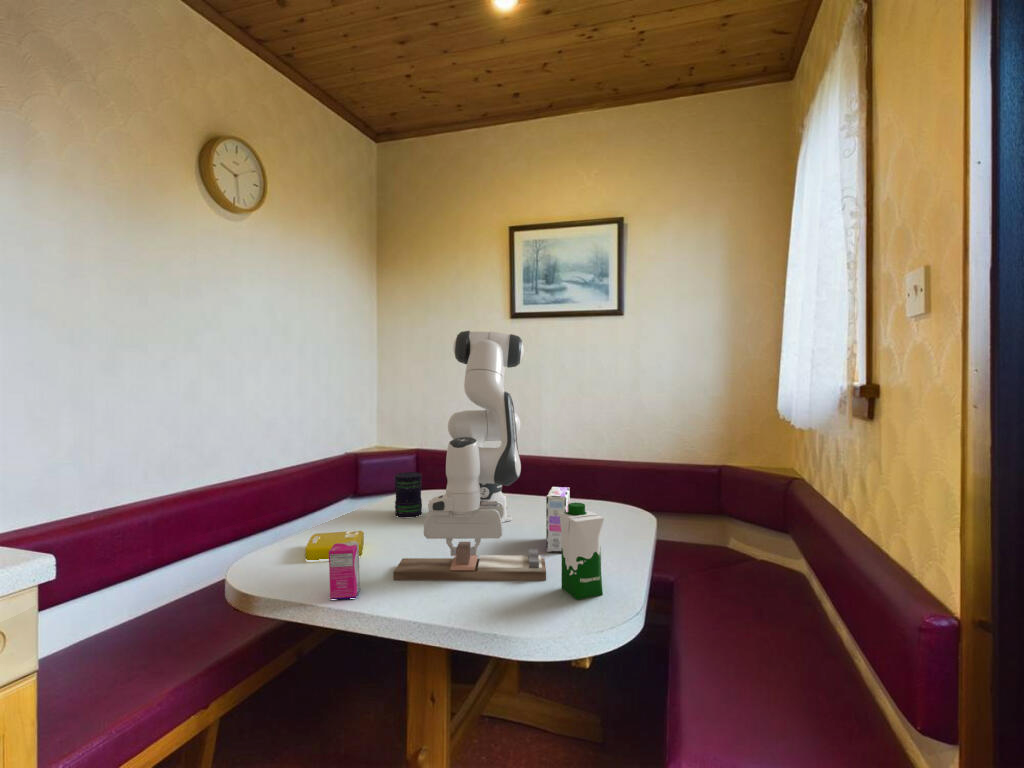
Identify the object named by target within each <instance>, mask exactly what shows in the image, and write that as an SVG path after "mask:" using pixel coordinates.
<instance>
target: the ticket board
mask: <svg viewBox="0 0 1024 768" xmlns="http://www.w3.org/2000/svg"><path fill="white" fill-rule="evenodd" d="M453 559H454V557H452V558H451V557H450V558H448V557H447V558H444V557H443V558H438V557H436V558H434V557H433V558H425V557H424V558H423V557H422V558H421V557H420V558H419V557H418V558H416V557H415V558H413V557H412V558H410V557H408V558H407V557H405V558H402V559H401V560H400V561H399V563H398V564H397V566H396V567H395V569H394V571H393V577H392V578H393V581H547V569H546V567H547V566H546V560H545V559H546V558H544V557H543V558H542V556H541V554H539V549H538V548H528V555H527V554H526V555H523V554H522V555H521V554H520V555H515V554H513V555H511V554H510V555H509V554H508V555H506V554H503V555H502V554H501V555H500V554H495V555H493V554H492V555H490V554H488V555H485V554H484V555H483V554H481V555H480V557H478V559H477V563H476V567H475V570H451V564H452V562H453Z"/></svg>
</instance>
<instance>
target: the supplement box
mask: <svg viewBox="0 0 1024 768" xmlns="http://www.w3.org/2000/svg"><path fill="white" fill-rule="evenodd" d="M328 564H329V565H328V567H329V570H328V571H329V599H350V598H356V599H357V597H356V596H358V595H359V593H360V591H361V577H360V576H361V574H360V570H361V569H360V558H359V543H358V542H352V543H335V544H334V545H333V547H332V548H331V549H330V551H329V561H328ZM359 590H360V591H359ZM358 592H359V593H358ZM357 594H358V595H357Z"/></svg>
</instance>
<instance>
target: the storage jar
mask: <svg viewBox="0 0 1024 768" xmlns="http://www.w3.org/2000/svg"><path fill="white" fill-rule="evenodd" d="M422 482H423V478H422V473H421V472H417V471H409V472H408V471H406V472H399V473H395V474H394V489H395V501H394V509H395V510H394V512H395V515H396V516H398V517H414V518H417V517H416V516H418V517H420V516H419V515H421V514H422V515H423V512H422V510H423V502H422V501H423V500H422V487H423V486H422V484H423V483H422ZM422 515H421V516H422ZM396 516H395V517H396ZM398 517H397V518H398Z"/></svg>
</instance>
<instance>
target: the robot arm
mask: <svg viewBox="0 0 1024 768" xmlns="http://www.w3.org/2000/svg"><path fill="white" fill-rule="evenodd" d="M452 350H453V353H454V357H455V359H456V360H457V362H459V363H461V364H463V365H466V367H465V372H464V374H465V375H464V382H463V385H464V386H463V387H464V393H465V395H466V396H467V398H468V399H469V401H470V402H472V403H473V404H475V405H476V406H478V407H479V408H482V409H481V410H479V409H478V410H477V409H476V410H475V409H474V410H462V411H458V412H454V413H453V414H452V415H451V416H450V417H449V420H448V423H447V429H448V430H447V431H448V433H449V436H450V437H451V440H450V441H449V442H448V444H447V451H446V458H445V477H446V479H447V482H446V483H447V484H446V489H445V493H444V494H441V495H438V496H435V497H433V498H431V499H430V500H429V501H428V507H427V508H428V512H427V513H426V515H425V517H424V525H423V536H424V538H426V539H431V540H432V539H436V540H437V539H443V540H444V539H445V543H446V545H447V547H448V548H449V549H450V556H453V557H455V555H456V549H457V546H454V544H453V542H452V541H453V540H455V539H457V540H458V539H461V540H462V539H463V540H464V539H465V540H466V539H467V540H468V539H469V540H471V539H472V540H473V539H474V543H475V544H474V546H471V549H470V552H471V553H470V555H471V556H476V555H478V554H477V553H478V552H477V551H478V547H479V546H480V544H481V541H482V539H483V540H484V539H488V540H489V539H496V540H497V539H500V538H501V537H503V531H504V530H503V529H504V528H503V523H505V522H509V521H510V522H511V521H512V520H513V517H512V515H511V514H510V513H509V511H508V510H507V509H508V506H507V496H506V495H505V494H504V493H503V492H502V490H503V486H506V487H509V486H511V485H512V484H513V483H514V482H516V481H517V480H518V479H519V478H520V476H521V470H522V464H521V457H520V453H519V447H518V435H519V433H520V431H521V426H522V425H521V419H520V416H519V415H518V413H516V412H515V407H514V401H513V398H512V396H511V394H510V393H509V392H507V391H506V389H505V388H504V387H505V376H506V375H505V374H506V373H505V372H506V370H505V369H506V367H507V369H510V368H511V369H512V368H516V367H517V366H519V365H520V364H521V361H522V360H523V357H524V354H525V347H524V344H523V339H522V338H521V337H520V336H518V335H516V334H511V333H510V334H507V333H503V332H499V331H471V330H465V331H464V330H463V331H460V332H459V333H458V334H457V335H456V338H455V340H454V342H453V349H452ZM495 441H496V442H500V441H501V443H500V446H499V447H484V443H485V442H495Z"/></svg>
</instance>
